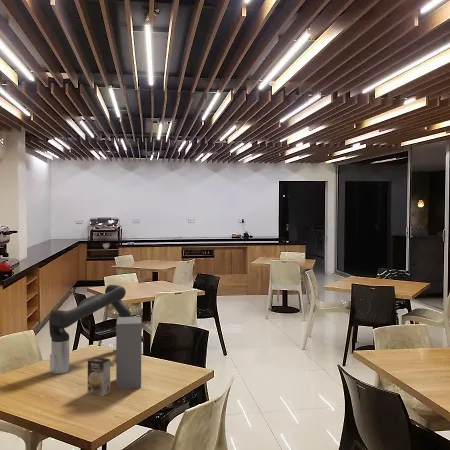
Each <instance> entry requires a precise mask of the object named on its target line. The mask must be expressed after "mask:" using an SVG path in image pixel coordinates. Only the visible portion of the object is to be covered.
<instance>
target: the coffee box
mask: <svg viewBox="0 0 450 450" xmlns="http://www.w3.org/2000/svg"><path fill="white" fill-rule="evenodd" d="M110 392H111V358H105V357H104V358H103V357H97V356H95V357H94V356H93V358H90V359H89V360H87V394H88V395H92V396H99V397H104V396H106V395H107V394H109V393H110Z"/></svg>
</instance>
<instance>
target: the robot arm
mask: <svg viewBox="0 0 450 450" xmlns="http://www.w3.org/2000/svg"><path fill="white" fill-rule="evenodd" d="M126 292H127V291H126V289H125V287H123V286H122V285H117V284H109V285H107V286H106V288H105V289H104V293H100V294H99V293H98V294H95V295H91V296H89V297H87V298H85V299H83V300H81V301H80V302H79V304H78V305H77V306H76V307H74V308H72V309H69V310H61V309H55V310H53V311H52V312H51V313H50V315H49V320H48V322H49V323H48V324H49V326H48V327H49V336H50V339H51V354H49V372H50V373H51V374H53V375H62V374H66V373H69V372H70V334H69V333H68V332H67V331H66V328H69V327H70V326H72V325H74V324H75V323H77V322H79V321H80V320H81V319H84V318H85V317H88V316H90V315H91V314H94V313H96V312H97V311H99V310H101V309H103V308H105V307H107V306H109V305H112V306H113V308H114V309H115V311H116V312H117V314H118V315H119V317H134V316H133V315H132V313H131V310H130V309H129V308H128V307H127V306H126V305H125V304H124V303H123V302H122V300H123V299H124V297H126ZM144 339H145V338H144V335H141V343H144V342H145V340H144Z"/></svg>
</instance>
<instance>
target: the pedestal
mask: <svg viewBox="0 0 450 450" xmlns="http://www.w3.org/2000/svg"><path fill="white" fill-rule="evenodd" d="M115 328H116V329H115V331H116V333H115V337H116V339H115V341H116V343H115V345H116V348H115V349H116V350H115V354H116V356H115V357H116V360H115V361H116V362H115V363H116V364H115V366H116V367H115V371H116V372H115V375H116V376H115V377H116V380H115V381H116V382H115V383H116V390H123V389H124V390H125V389H126V390H127V389H129V390H130V389H131V390H132V389H141V388H142V342H141V336H142V316H133V317H120V316H119V317H117V320H116V325H115Z"/></svg>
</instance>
